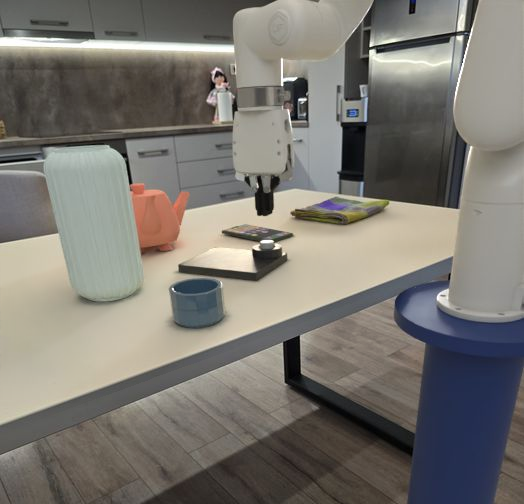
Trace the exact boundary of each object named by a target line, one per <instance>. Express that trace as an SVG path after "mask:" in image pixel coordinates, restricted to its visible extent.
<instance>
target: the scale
mask: <svg viewBox="0 0 524 504" xmlns="http://www.w3.org/2000/svg"><path fill="white" fill-rule="evenodd" d="M287 261H288V252H283V246H282V245H281V244H279V243H275V242H274V248H271V249H260V243H257V244H255V245H253V246H251V249H245V248H244V249H242V248H231V247H221V246H220V247H219V246H214V247H213V248H210V249H208V250H207V251H204V252H202V253H199V254H197V255H196V256H193V257H191V258H188V259H187V260H185V261H182V262H181V263H179V264H177V268H178V273H185V274H193V275H202V276H210V277H211V276H212V277H218V278H219V277H220V278H221V277H222V278H229V279H238V280H247V281H255V282H256V281H258V280H260V279H261V278H263V277H264V276H265V275H267V274H269V273H270V272H272V271H274V270H275V269H276V268H278V267H280V266H281V265H282V264H284V263H286V262H287Z"/></svg>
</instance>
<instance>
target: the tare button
mask: <svg viewBox="0 0 524 504" xmlns="http://www.w3.org/2000/svg"><path fill="white" fill-rule="evenodd" d="M274 243H275V242H274V241H272V240H262V241H259V244H260V249H271V248H274Z"/></svg>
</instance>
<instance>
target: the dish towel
mask: <svg viewBox="0 0 524 504" xmlns="http://www.w3.org/2000/svg"><path fill="white" fill-rule="evenodd" d="M389 204H390V200H389V199H379V200H372V201H360V200H356V199H347V198H344V197H340V196H334V197H331V198H328V199H326V200H324V201H322V202H319V203H313V204H312V205H309V206H306V207H301V208H295V209H293V210H291V211H290V215H291V216H292V217H294V218H295V219H301V220H310V221H311V220H312V221H318V222H323V223H331V224H337V225H347V224H350V223H352V222H356V221H359V220H361V219H365V218H368V217H370V216H373V215H375V214H376V213H379V212H381V211H382V210H384V209H385V208H386V207H388V206H389Z"/></svg>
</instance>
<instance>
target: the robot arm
mask: <svg viewBox="0 0 524 504" xmlns="http://www.w3.org/2000/svg"><path fill="white" fill-rule="evenodd" d="M373 2H374V0H318V2H316V1H313V0H275V1H273V2H270V3H267V4H266V5H264V6H259V7H257V6H256V7H255V6H254V7H248V8H244V9H240V10H239V11H237V12H236V13H235V14H234V16H233V19H232V34H233V37H232V38H233V50H234V51H233V53H234V66H235V67H234V68H235V83H236V84H235V86H236V99H237V111H234V115H233V122H232V123H233V124H232V145H231V146H232V163H233V164H232V165H233V169H234V171H235V175H234V178H235V179H236V180H237V181H240V182H243V183H246V184H247V185H248V186H249V187H250V190H251V192H252V193H254V208H255V210H256V216H258V217H268V216H270V215H272V214H273V212H274V209H275V202H274V201H275V195H274V192H275V191H276V189H277V188H278V187H279V185H280V184H281V183H284V182H288V181H291V180H293V178H294V176H293V171H292V170H294V168H295V163H296V162H295V159H296V158H295V145H294V135H293V127H292V121H291V115H290V111H289V108H284V105H285V102H287V101H291V98H292V97H291V96H292V95H291V91H290V90H285V87H284V80H283V77H284V76H283V60H287V61H299V62H302V61H305V62H311V63H312V62H313V63H314V62H315V63H318V62H324V61H326V60H328V59H331V57H333V56H334V55H336V53H338V52H339V50H340V49H341V48H343V46H344V45H345V44H346V42H347V41H348V40H349V39H350V37H351V36H352V34H353V33H354V32H355V30H356V29H357V28H358V27H359V25H360V24H361V23H362V21H363V20H364V18H365V17H366V16H367V14H368V12H369V10H370V9H371V7H372V5H373ZM452 110H453V115H452V116H453V121H454V126H455V129H456V130H457V132H458V134H459V136H460V137H461V139H462V140H463V141H464V142H465V143H466V144H468V146H470V147H469V151H468V156H467V160H466V164H465V170H464V176H463V180H462V181H463V182H462V190H461V197H460V203H459V211H458V218H457V219H458V220H457V224H456V225H457V226H456V232H455V233H456V234H455V241H454V248H453V256H452V262H451V263H452V264H451V272H450V278H449V280H450V286H449V289H446V290H444V291H442V292H440V293H439V294H438V295H437V301H436V304H437V306H438V308H439V309H440V310H442V311H443V312H445V313H446V314H449V315H451V316H454V317H457V318H460V319H464V320H469V321H475V322H484V323H505V322H512V321H516V320H520V319H522V318H524V0H478V3H477V6H476V11H475V14H474V20H473V23H472V27H471V30H470V34H469V39H468V41H467V47H466V49H465V54H464V58H463V63H462V65H461V69H460V73H459V77H458V82H457V85H456V89H455V95H454V100H453V109H452ZM263 175H264V176H263Z"/></svg>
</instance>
